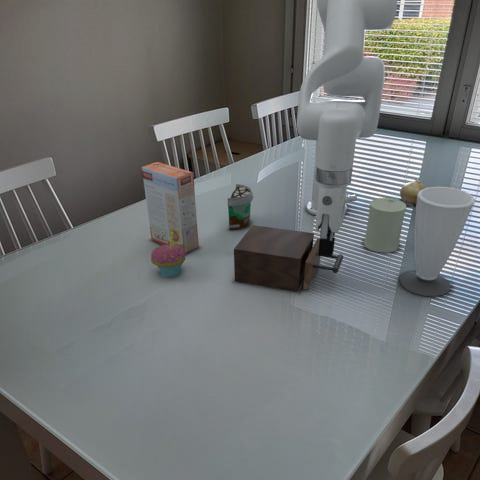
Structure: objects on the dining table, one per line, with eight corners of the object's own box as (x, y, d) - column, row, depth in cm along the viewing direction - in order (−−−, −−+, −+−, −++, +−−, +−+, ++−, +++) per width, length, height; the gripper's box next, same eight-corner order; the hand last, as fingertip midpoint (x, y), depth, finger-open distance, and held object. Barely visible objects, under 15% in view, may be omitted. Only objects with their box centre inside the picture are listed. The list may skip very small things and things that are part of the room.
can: (401, 240, 131) (409, 198, 124) (395, 255, 124) (403, 212, 117) (368, 235, 134) (374, 194, 127) (360, 249, 128) (366, 206, 121)
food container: (249, 233, 137) (249, 200, 131) (228, 232, 138) (227, 198, 132) (256, 216, 146) (256, 184, 140) (237, 215, 147) (236, 183, 142)
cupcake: (192, 266, 121) (188, 223, 114) (178, 283, 115) (173, 238, 108) (162, 262, 124) (156, 218, 117) (146, 278, 117) (139, 233, 110)
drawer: (343, 267, 118) (346, 242, 114) (333, 293, 108) (337, 267, 104) (264, 255, 124) (264, 231, 120) (248, 279, 114) (248, 253, 110)
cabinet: (311, 264, 121) (314, 233, 116) (298, 292, 111) (300, 258, 106) (252, 255, 126) (252, 224, 121) (234, 281, 115) (233, 248, 110)
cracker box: (200, 247, 130) (194, 171, 118) (183, 255, 126) (176, 177, 114) (167, 233, 138) (158, 160, 126) (150, 240, 134) (140, 165, 122)
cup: (424, 302, 107) (447, 210, 94) (389, 278, 115) (405, 192, 102) (461, 288, 111) (488, 199, 98) (424, 267, 119) (444, 182, 106)
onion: (427, 206, 150) (432, 184, 146) (402, 207, 150) (406, 185, 146) (420, 197, 156) (424, 175, 152) (395, 197, 157) (399, 176, 153)
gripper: (345, 188, 93) (336, 271, 103) (356, 166, 104) (347, 242, 115) (307, 185, 95) (302, 266, 106) (322, 162, 106) (316, 238, 117)
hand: (325, 253), depth 110 cm, fingers closed
